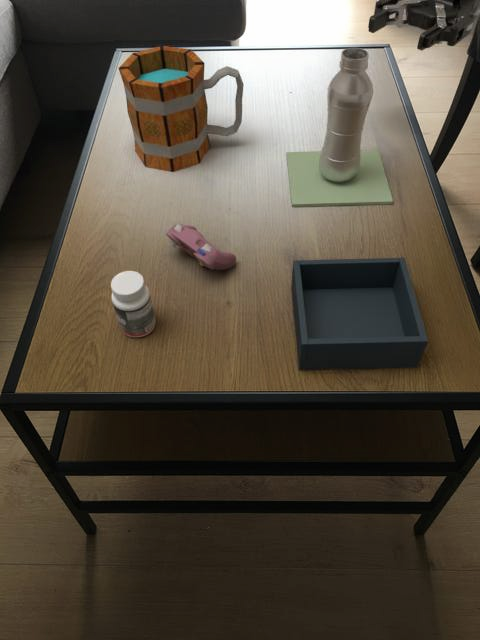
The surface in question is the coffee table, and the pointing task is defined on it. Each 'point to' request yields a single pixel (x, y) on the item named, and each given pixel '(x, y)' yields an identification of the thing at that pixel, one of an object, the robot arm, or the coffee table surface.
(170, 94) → the mug
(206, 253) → the pink curved plastic piece
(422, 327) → the bin
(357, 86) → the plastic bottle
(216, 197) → the coffee table surface
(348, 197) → the mat
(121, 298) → the pill bottle
